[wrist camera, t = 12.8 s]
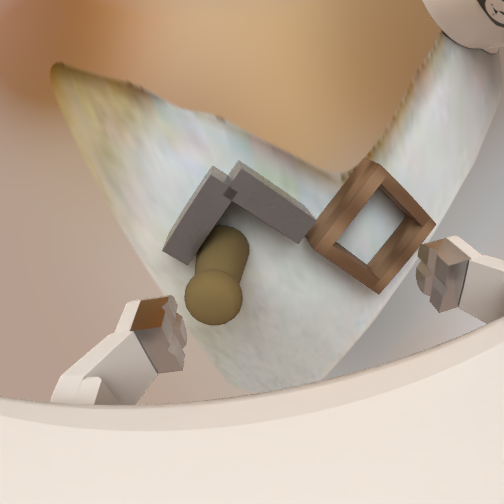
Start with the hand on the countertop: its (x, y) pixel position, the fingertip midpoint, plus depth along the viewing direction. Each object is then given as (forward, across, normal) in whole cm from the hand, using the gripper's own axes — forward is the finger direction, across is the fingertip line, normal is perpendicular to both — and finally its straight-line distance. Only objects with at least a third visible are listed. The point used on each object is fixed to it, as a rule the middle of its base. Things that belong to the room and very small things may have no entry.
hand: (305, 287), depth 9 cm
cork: (+24, +5, +10) cm, 27 cm away
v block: (+24, +3, +5) cm, 25 cm away
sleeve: (+25, -13, +10) cm, 30 cm away
